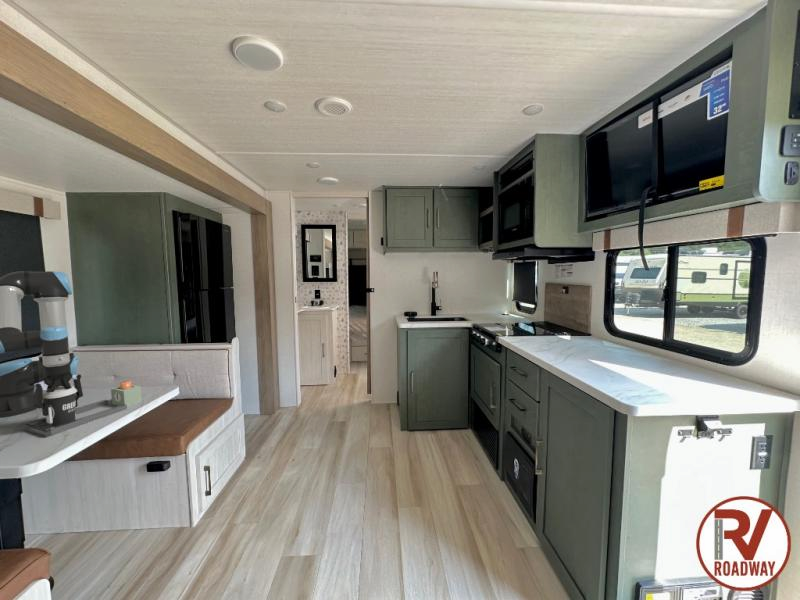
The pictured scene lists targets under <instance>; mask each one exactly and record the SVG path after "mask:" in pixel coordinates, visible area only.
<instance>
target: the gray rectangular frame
mask: <svg viewBox="0 0 800 600" xmlns="http://www.w3.org/2000/svg"><path fill="white" fill-rule="evenodd" d="M108 404H109V403H108V399H102V400H98V401H96V402H92V403H89V404H86V405H82V406H79V407H78V406H77V407H75V413H76V416H77V415H80V414H83V413H87V412H90V411H92V410H95V409H99V408H101V407H104V406H107V405H108ZM126 410H128V406H127V405H126V404H123V405H120V406H118V405H115V406H114V407H111V408H108V409H104V410H101V411H98V412H95V413H92V414H89V415H86V416H82V417H80V418H77V419H76V418H75V420H73V421H70V422H67V423H64V424H61V425H58V426H54V427H53V426H51V427H49V428H48V429H47V428H45V427H42V426H46V425H48V424H49V425H50V423H47V420H46V416H44V417H41V418H39V419H36V420H32V421H29V422H28V423H26V424H23V430H24V431H27V432H30V433H33V434H35V435H38V436H42V437H44V438H48V437H51V436H54V435H57V434H61V433H63V432H66V431H69V430H72V429H75V428H78V427H80V425H81V426H83V424H84V425H87V424H89V423H92V422H94V420H95V421H97V419H98V420H100V418H101V419H103V418H106V417H108V416H112V415H115V414H117V413H121V412H123V411H126ZM91 421H92V422H91ZM88 422H89V423H88Z"/></svg>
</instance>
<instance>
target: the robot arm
mask: <svg viewBox="0 0 800 600" xmlns="http://www.w3.org/2000/svg"><path fill="white" fill-rule="evenodd" d="M72 294H73V291H72V286H71V283H70V280H69V276H68V275H67V273H66V272H63V271H55V270H54V271H53V270H52V271H47V270H46V271H45V270H44V271H43V270H42V271H23V270H22V271H15V272H14V271H13V272H10V273H7V274H5V275H2V276H1V277H0V354H6V353H14V352H22V351H30V350H41V354H39V356H38V359H37V360H33V359H32V358H30V357H28V358H27V357H26V358H19V359H14V360H11V361H6V362H2V363H0V419H3V418H10V417H15V416H18V415H23V414H27V413H30V412H33V411H36V410H37V408H38V409H41V410H42V416H43V417H46V420H47V423H49V424H52V423H53V420H52V409H51V407H49V404H50V403H49V399H45V398H44V397H43V396H44V395H43V394H44V393H43V392H44V391H43V388H44V385H47V386H46V391H45V393H46V392H48V393H50V392H54V390H55V389H56V388H57V387H64V388H66V389H70V388H71V386H72V385H71V383H70V381H71V380H73V385H74V387H75V388H76V389H77V392H76V405H75V408H78V401H79V399H80V398H82V397H83V396H84V394H83V393H84V392H83V388H82V382H81V378H82V375H81V374H78V365H79V355H77V354H75V353H74V351H72V350H70V346H69V333H68V327H67V316H66V315H67V314H66V303H65V302H66V301H67V300H68V299H69V296H71V295H72ZM24 297H32V299H33V301H35V302H37V303H38V310H39V311H38V312H39V322H40V330H33V331H31V330H29V331H22V328H23V327H22V302H21V301H22V299H23V298H24ZM76 416H77V415H76V413H75V417H76Z"/></svg>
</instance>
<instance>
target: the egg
mask: <svg viewBox="0 0 800 600" xmlns="http://www.w3.org/2000/svg"><path fill="white" fill-rule="evenodd" d="M131 385H132V381H131V380H126V381H125V380H124V381H122V382H120V383H119V386H120V389H121V390H124V389H128V388H131Z"/></svg>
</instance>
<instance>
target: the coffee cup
mask: <svg viewBox="0 0 800 600" xmlns="http://www.w3.org/2000/svg"><path fill="white" fill-rule="evenodd" d="M76 392H77V389H76V388H75V386H73V385H71V388H70V389H66V388H64V387H63V386H60V387H57V388H56V389H55V390H54V392H50V393H48V392H46V391H45V394H44V395H43V399H44V398H45V399H49V403H50V404H49V407H51V409H52V420H53V423H51V427H54V426H58V425H61V424H64V423H67V422H70V421H73V420H76V416H75V408H76V407H75V405H76Z"/></svg>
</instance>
